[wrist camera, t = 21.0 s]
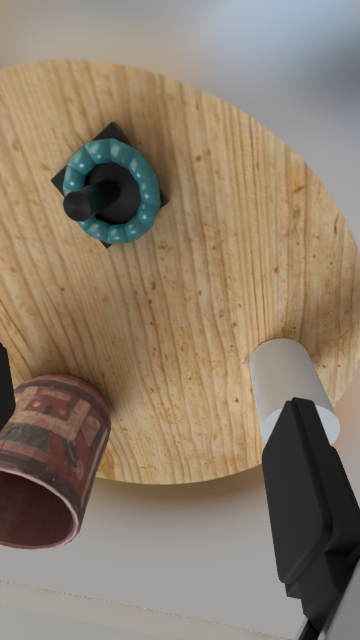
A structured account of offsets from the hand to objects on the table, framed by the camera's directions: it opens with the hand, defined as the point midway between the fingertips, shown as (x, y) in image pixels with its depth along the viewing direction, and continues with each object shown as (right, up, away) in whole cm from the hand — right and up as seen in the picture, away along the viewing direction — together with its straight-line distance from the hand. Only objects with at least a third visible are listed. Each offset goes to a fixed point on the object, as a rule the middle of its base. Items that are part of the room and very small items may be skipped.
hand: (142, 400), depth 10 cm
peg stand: (-6, +17, +23) cm, 30 cm away
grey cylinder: (+15, -3, +33) cm, 37 cm away
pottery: (-17, -11, +41) cm, 46 cm away
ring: (-6, +16, +22) cm, 27 cm away
